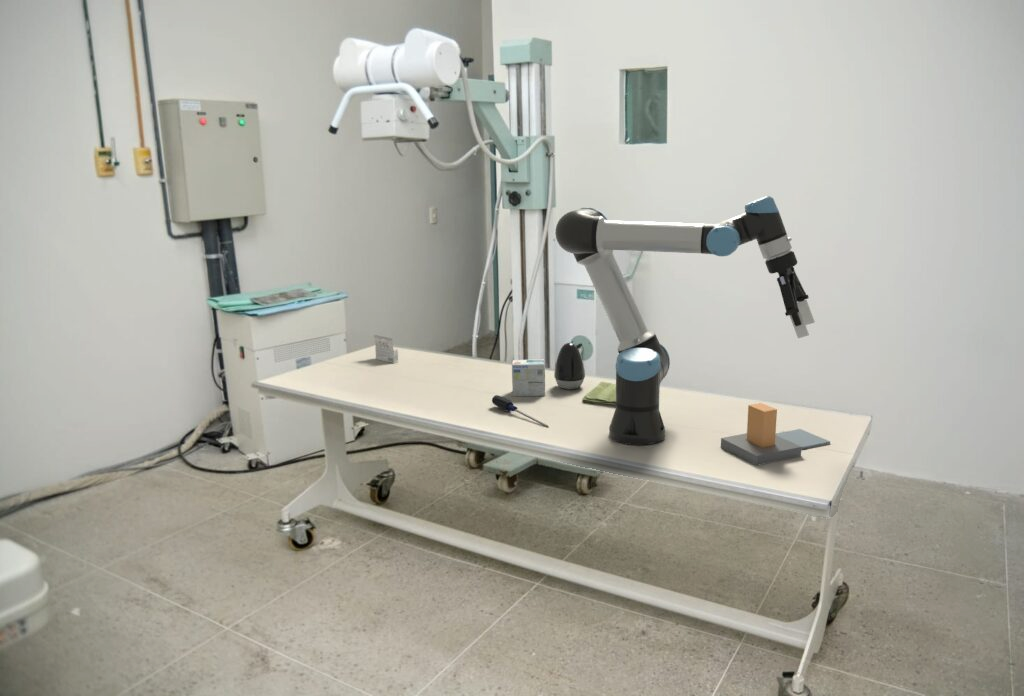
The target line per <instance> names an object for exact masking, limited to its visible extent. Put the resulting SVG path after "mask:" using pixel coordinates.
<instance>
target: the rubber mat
mask: <svg viewBox="0 0 1024 696" xmlns="http://www.w3.org/2000/svg"><path fill="white" fill-rule="evenodd" d="M775 435H776V436H779V437H781V438H783V439H785V440H788V441H790V442H792V443H794V444H796V445H799V446H801V447H802V448H801V450H805V449H810V448H815V447H820V446H824V445H825V444H826V445H829V444H831V441H830V440H828V439H825V438H824V437H820V436H818V435H816V434H813V433H811V432H809V431H806V430H803V429H802V428H797V429H793V430H787V431H781V432H777V433H776V434H775Z"/></svg>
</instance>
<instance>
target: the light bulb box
mask: <svg viewBox="0 0 1024 696" xmlns="http://www.w3.org/2000/svg"><path fill="white" fill-rule="evenodd" d="M511 363H512V364H511V379H512V397H534V396H535V397H538V396H539V397H542V396H545V395H546V370H545V368H546V367H545V359H543V358H541V359H540V358H539V359H512V362H511Z"/></svg>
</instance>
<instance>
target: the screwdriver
mask: <svg viewBox="0 0 1024 696" xmlns="http://www.w3.org/2000/svg"><path fill="white" fill-rule="evenodd" d="M491 402H492V404H493V405H494V406H496V407H497V408H499V409H500V410H502V411H504V412H516V413H518V414H521V415H523V416H524V417H526V418H528V419H531V420H532V421H534V422H536V423H538V424H540V425H542V426H544V427H545V426H547V427H546V428H550V427H549V425H548V424H546V423H545V422H542V420H539V419H537V418H534V417H533V416H531V415H528V414H527V413H525V412H523V411H521V410H519V409H518V407H517V406H516V405H514V404H513V401H512V400H510V398H509V399H508V398H506V397H505V396H501V395H497V394H496V395H494V396H492V399H491Z"/></svg>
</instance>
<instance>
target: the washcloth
mask: <svg viewBox="0 0 1024 696" xmlns="http://www.w3.org/2000/svg"><path fill="white" fill-rule="evenodd" d="M581 401H582V402H584V403H585V404H586V403H587V404H597V405H605V406H606V405H610V406H616V383H611V382H606V381H600V382H599V383H598V384H597V385H596V386H594V388H593V389H591V390H589V391H588V392H587V393H585V394H584V396H583V397H582V399H581Z"/></svg>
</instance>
